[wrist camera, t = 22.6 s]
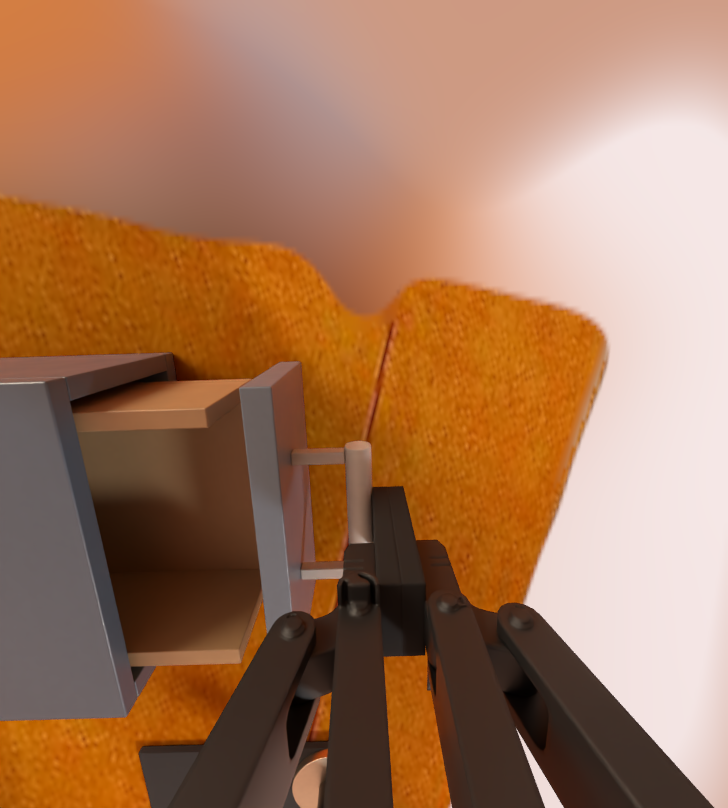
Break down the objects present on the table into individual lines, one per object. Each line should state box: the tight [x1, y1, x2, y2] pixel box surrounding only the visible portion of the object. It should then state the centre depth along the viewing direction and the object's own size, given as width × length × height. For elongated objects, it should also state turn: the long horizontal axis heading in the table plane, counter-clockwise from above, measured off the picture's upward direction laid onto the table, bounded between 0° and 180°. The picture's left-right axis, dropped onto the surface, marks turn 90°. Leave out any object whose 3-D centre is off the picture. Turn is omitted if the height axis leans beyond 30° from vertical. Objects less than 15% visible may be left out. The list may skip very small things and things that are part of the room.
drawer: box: [70, 361, 374, 666], centre depth 19 cm, size 22×14×7 cm, turn 92°
